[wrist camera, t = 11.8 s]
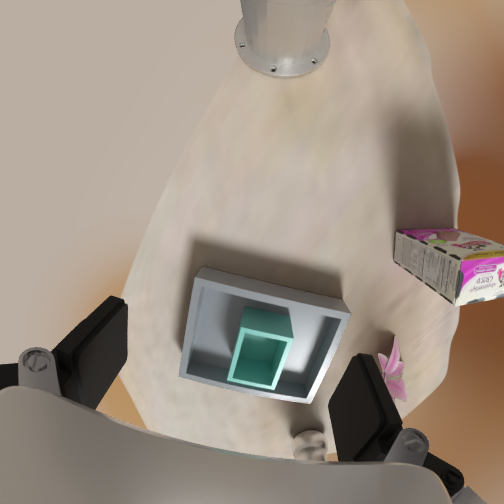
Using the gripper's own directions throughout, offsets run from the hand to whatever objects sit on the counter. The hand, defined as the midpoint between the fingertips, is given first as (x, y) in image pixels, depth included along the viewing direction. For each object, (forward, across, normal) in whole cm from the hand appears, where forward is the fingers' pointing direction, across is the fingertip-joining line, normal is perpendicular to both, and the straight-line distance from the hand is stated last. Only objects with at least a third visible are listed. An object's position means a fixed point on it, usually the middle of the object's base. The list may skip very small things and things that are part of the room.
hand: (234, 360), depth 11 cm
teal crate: (+26, -4, +15) cm, 30 cm away
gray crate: (+27, -4, +16) cm, 31 cm away
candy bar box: (+28, -24, -3) cm, 37 cm away
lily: (+27, -25, +17) cm, 41 cm away
